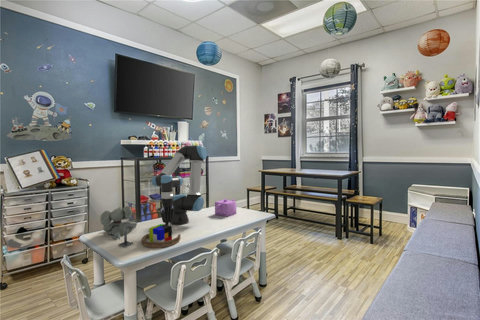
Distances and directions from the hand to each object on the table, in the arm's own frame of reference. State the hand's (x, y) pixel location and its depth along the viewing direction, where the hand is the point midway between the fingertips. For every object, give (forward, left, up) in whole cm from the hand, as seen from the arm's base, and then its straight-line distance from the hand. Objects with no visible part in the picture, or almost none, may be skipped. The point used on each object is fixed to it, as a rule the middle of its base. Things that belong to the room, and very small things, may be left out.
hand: (168, 231), depth 178 cm
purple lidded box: (+4, +74, -5) cm, 74 cm away
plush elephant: (-39, -8, -5) cm, 40 cm away
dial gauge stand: (-15, -21, -4) cm, 26 cm away
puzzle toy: (+1, -8, -5) cm, 9 cm away
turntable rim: (0, -8, -4) cm, 9 cm away
